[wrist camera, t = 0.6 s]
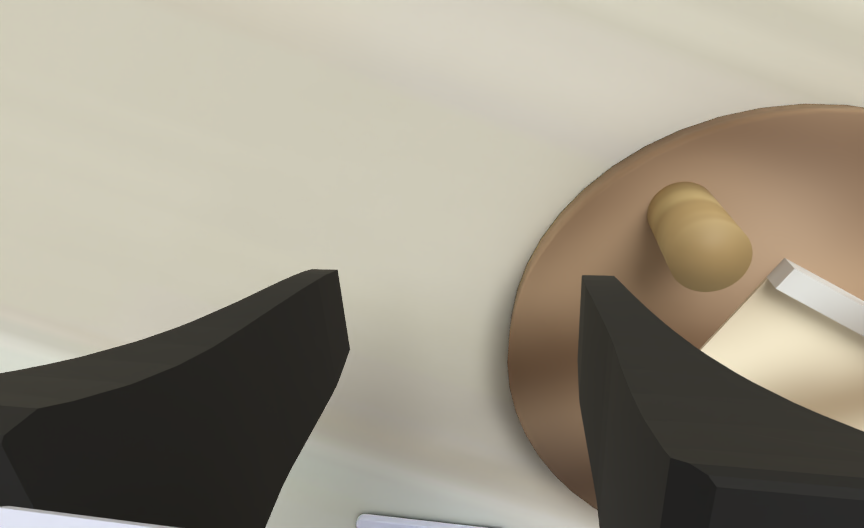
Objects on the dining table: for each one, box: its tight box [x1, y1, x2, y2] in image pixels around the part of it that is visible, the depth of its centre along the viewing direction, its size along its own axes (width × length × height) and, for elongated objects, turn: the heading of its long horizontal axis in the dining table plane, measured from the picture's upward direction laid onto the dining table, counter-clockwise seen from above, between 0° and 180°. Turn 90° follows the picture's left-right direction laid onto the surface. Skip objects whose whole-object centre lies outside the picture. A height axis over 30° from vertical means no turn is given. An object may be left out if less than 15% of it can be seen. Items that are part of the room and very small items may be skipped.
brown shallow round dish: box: [507, 104, 864, 510], centre depth 18 cm, size 18×18×5 cm
